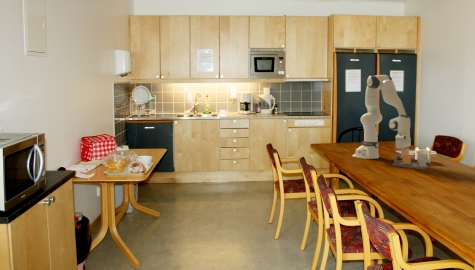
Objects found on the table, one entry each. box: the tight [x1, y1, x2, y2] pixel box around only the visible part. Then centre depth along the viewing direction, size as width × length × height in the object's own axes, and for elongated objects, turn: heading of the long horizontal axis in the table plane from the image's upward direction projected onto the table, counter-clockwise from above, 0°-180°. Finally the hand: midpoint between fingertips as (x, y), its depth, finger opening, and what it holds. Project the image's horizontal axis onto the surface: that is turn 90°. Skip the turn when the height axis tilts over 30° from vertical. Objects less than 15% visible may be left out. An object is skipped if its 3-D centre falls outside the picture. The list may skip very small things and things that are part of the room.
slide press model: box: [392, 155, 429, 170], centre depth 348 cm, size 24×10×7 cm, turn 47°
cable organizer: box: [414, 146, 432, 165], centre depth 362 cm, size 15×11×12 cm
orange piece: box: [400, 147, 414, 165], centre depth 349 cm, size 6×12×11 cm, turn 137°
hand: (403, 153), depth 351 cm, fingers closed, pressing on orange piece
